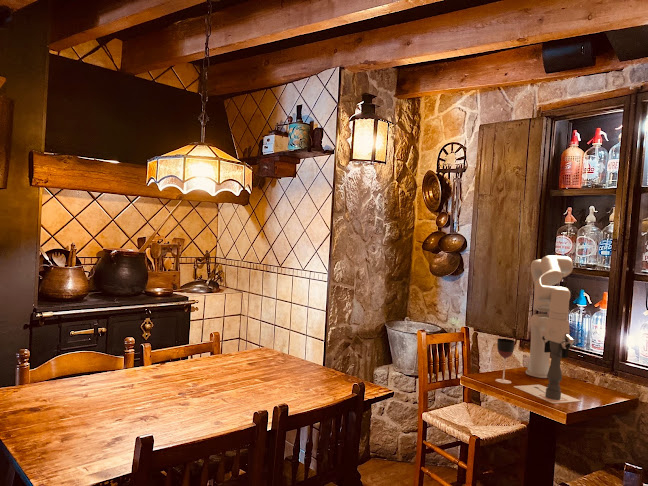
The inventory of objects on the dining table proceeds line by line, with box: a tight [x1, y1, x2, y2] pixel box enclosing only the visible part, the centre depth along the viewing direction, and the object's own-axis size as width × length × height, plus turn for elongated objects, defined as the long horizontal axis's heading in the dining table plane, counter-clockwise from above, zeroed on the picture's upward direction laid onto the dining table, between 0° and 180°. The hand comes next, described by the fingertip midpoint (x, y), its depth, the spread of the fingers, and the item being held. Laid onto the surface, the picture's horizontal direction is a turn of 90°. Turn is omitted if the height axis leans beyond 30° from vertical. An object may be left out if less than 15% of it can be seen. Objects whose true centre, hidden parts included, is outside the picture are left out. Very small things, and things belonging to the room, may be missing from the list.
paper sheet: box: [513, 384, 582, 404], centre depth 232 cm, size 24×16×1 cm, turn 22°
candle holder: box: [545, 341, 563, 400], centre depth 225 cm, size 6×6×25 cm
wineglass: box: [495, 338, 516, 384], centre depth 249 cm, size 8×9×20 cm
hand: (555, 354), depth 225 cm, fingers open, 9 cm apart
